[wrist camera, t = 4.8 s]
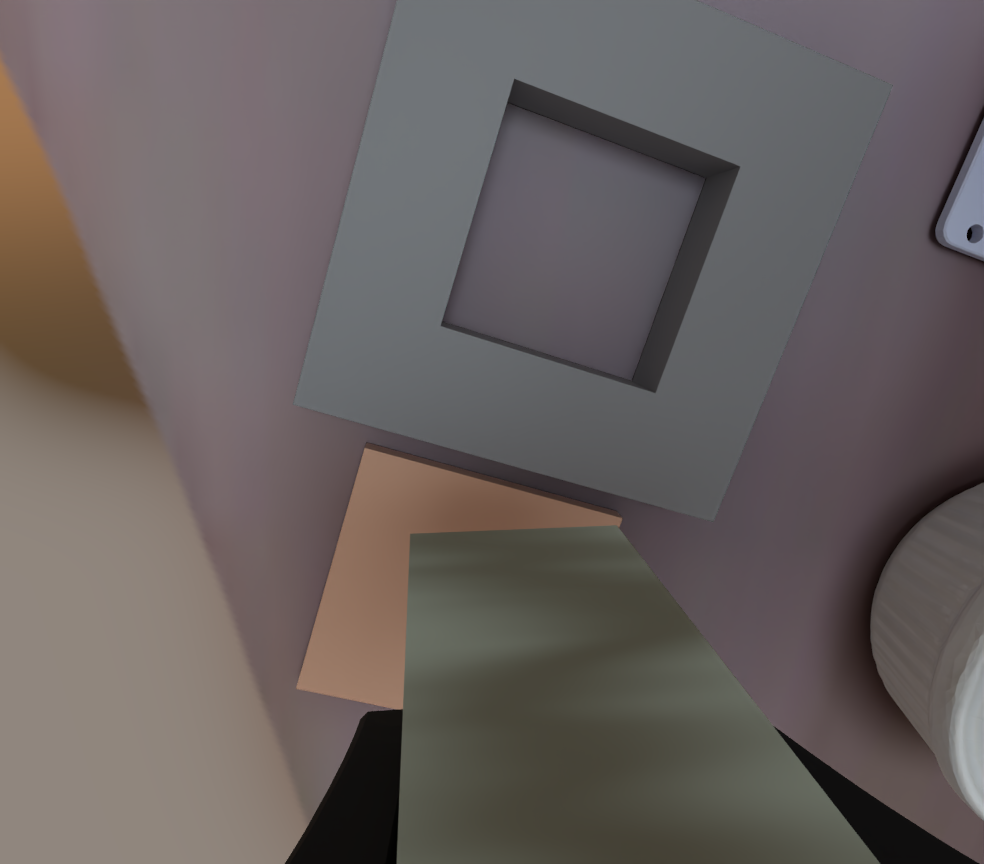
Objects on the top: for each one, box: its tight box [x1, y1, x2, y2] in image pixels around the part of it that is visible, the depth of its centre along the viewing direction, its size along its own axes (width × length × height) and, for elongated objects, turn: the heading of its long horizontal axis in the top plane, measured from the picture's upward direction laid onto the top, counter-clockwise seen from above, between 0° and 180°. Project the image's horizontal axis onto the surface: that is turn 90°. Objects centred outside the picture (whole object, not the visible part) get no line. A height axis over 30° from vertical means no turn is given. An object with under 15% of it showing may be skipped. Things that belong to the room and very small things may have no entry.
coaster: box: [296, 442, 623, 710], centre depth 20 cm, size 8×8×1 cm
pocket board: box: [293, 0, 893, 522], centre depth 17 cm, size 12×12×2 cm
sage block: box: [397, 525, 880, 864], centre depth 9 cm, size 4×4×8 cm
